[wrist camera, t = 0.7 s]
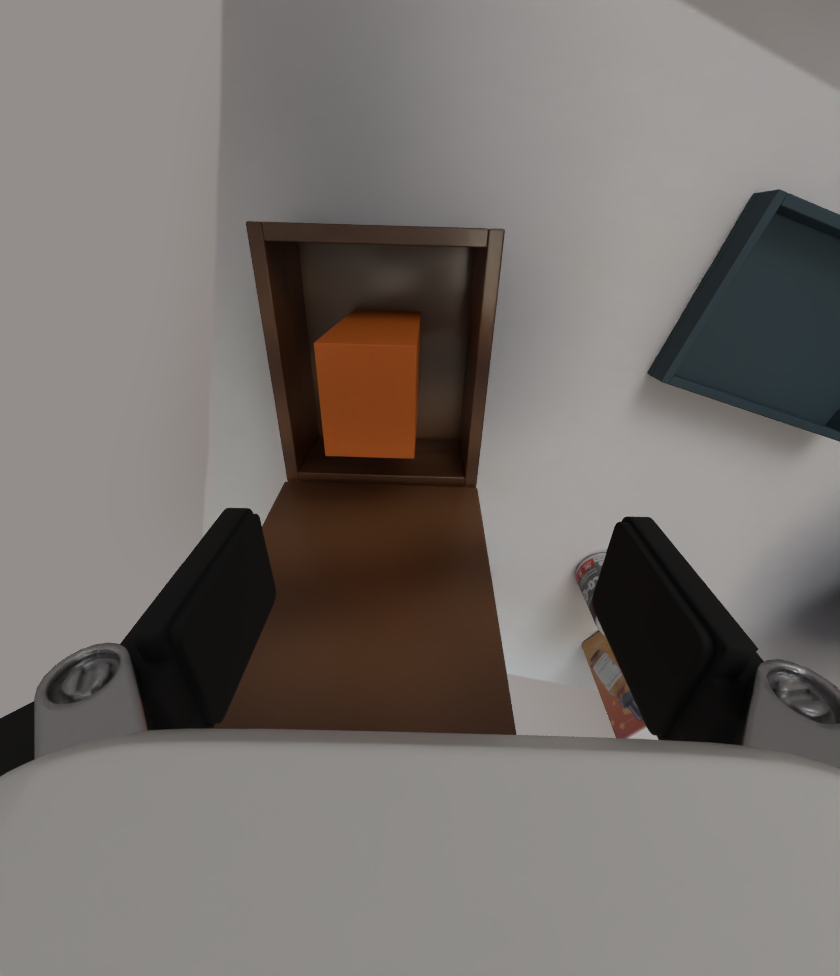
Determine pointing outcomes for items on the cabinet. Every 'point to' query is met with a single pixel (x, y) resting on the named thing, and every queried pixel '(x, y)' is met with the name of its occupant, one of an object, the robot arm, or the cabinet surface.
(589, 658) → the small box
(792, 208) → the tray
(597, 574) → the pill bottle
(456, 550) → the lid
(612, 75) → the cabinet surface
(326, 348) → the block
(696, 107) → the cabinet surface
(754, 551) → the cabinet surface
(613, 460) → the cabinet surface
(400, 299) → the chest
